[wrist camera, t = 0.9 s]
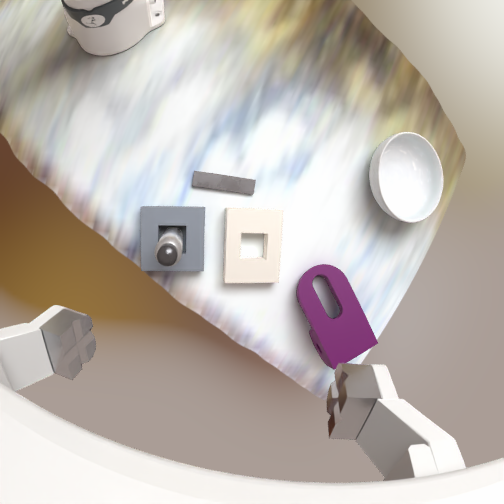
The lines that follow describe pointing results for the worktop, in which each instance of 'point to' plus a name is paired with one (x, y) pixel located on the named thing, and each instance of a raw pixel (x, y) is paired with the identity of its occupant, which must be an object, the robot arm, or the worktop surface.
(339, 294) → the mounting bracket
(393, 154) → the cereal bowl
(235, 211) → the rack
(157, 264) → the socket
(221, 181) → the bar
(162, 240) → the capped cylinder peg
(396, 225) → the worktop surface
